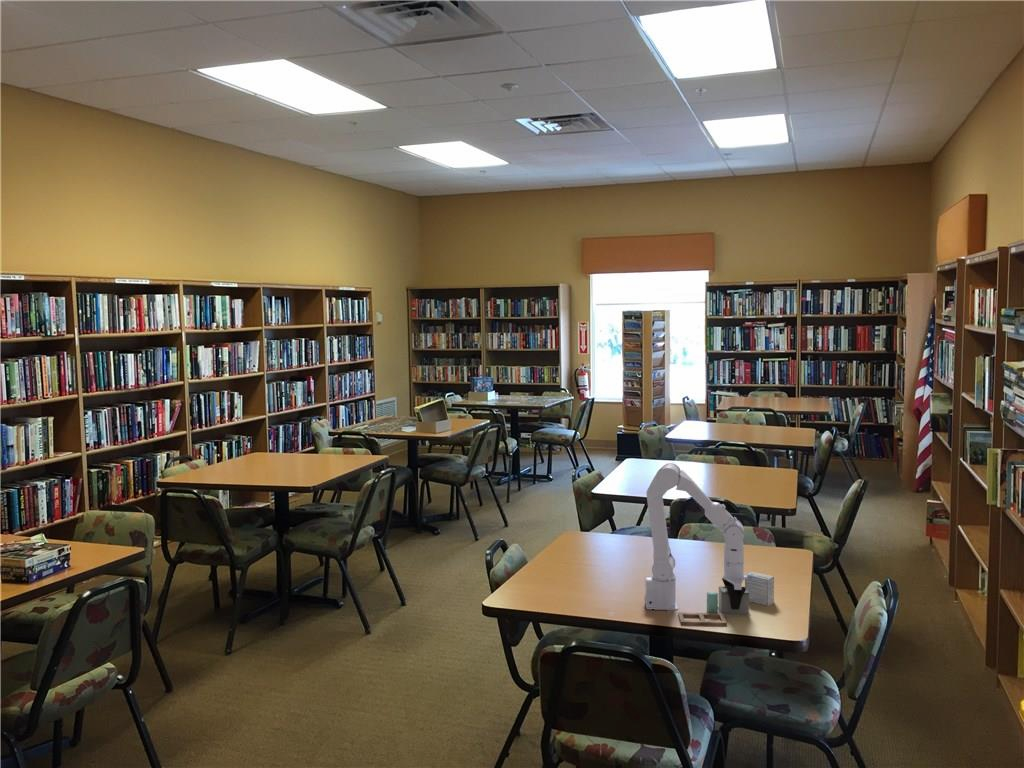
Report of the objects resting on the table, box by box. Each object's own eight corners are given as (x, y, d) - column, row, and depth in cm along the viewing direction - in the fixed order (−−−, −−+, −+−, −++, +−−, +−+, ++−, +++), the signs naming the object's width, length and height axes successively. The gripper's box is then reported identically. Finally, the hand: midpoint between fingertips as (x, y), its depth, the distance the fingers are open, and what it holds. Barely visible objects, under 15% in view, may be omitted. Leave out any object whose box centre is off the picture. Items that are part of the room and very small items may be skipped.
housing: (721, 613, 240) (721, 592, 239) (718, 607, 245) (718, 586, 244) (748, 614, 239) (748, 592, 238) (745, 607, 244) (745, 587, 244)
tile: (720, 615, 239) (720, 604, 239) (716, 607, 246) (716, 597, 246) (751, 616, 238) (751, 605, 238) (746, 608, 245) (746, 597, 245)
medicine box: (774, 603, 249) (774, 576, 248) (768, 607, 246) (768, 579, 245) (750, 597, 254) (750, 571, 254) (744, 601, 251) (744, 574, 250)
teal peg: (707, 614, 240) (707, 594, 240) (705, 610, 243) (706, 591, 243) (718, 614, 240) (718, 595, 239) (716, 610, 243) (716, 591, 242)
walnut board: (681, 625, 231) (681, 621, 231) (678, 616, 239) (678, 612, 239) (726, 626, 230) (726, 622, 230) (722, 617, 238) (722, 613, 238)
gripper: (752, 569, 233) (751, 614, 234) (742, 554, 248) (742, 597, 249) (727, 568, 234) (727, 613, 235) (719, 554, 248) (719, 597, 249)
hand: (733, 605), depth 242 cm, fingers closed on housing, 5 cm apart
